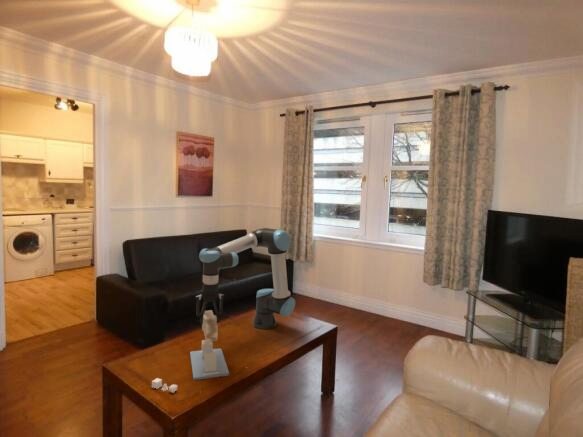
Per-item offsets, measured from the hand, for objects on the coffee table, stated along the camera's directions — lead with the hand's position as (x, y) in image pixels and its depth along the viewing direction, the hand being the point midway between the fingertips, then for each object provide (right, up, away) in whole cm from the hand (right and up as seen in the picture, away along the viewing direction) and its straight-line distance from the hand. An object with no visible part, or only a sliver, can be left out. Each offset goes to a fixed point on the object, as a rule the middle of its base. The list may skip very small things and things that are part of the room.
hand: (209, 329), depth 170 cm
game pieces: (-14, -19, -21) cm, 32 cm away
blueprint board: (-1, -18, +1) cm, 18 cm away
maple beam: (0, -1, 0) cm, 1 cm away
